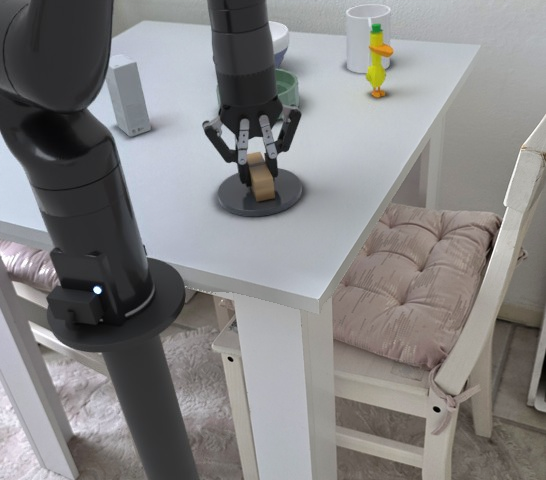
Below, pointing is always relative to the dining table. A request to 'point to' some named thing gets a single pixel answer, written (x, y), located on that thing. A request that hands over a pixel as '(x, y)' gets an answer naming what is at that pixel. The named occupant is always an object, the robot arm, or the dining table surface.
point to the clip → (260, 177)
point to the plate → (245, 204)
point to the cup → (365, 35)
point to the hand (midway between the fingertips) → (259, 181)
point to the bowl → (279, 41)
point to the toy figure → (377, 59)
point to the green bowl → (282, 88)
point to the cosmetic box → (127, 95)
